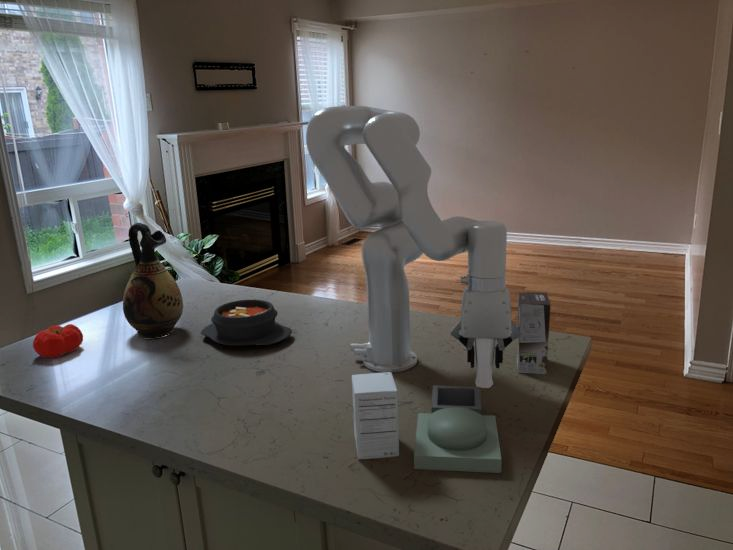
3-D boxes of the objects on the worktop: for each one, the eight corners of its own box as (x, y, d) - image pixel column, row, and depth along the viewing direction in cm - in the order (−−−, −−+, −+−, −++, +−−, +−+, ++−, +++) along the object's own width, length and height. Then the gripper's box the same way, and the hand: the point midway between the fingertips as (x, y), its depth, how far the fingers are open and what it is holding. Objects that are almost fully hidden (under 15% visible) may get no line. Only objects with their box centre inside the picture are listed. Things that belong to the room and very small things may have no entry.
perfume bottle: (496, 380, 128) (497, 314, 124) (493, 389, 124) (495, 321, 120) (474, 378, 130) (475, 312, 126) (471, 387, 126) (472, 320, 122)
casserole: (306, 332, 160) (304, 302, 158) (266, 358, 144) (263, 326, 142) (230, 320, 170) (227, 292, 168) (185, 344, 154) (181, 313, 152)
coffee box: (547, 375, 130) (551, 304, 126) (517, 373, 131) (519, 303, 127) (544, 357, 139) (547, 291, 134) (515, 356, 140) (518, 290, 136)
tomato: (28, 359, 148) (23, 335, 146) (61, 343, 158) (56, 319, 156) (60, 363, 146) (56, 338, 144) (92, 345, 156) (88, 322, 154)
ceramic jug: (198, 328, 165) (185, 221, 157) (152, 347, 153) (136, 232, 145) (157, 318, 174) (144, 216, 166) (111, 335, 162) (93, 227, 154)
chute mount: (414, 468, 98) (413, 441, 97) (420, 403, 120) (420, 380, 118) (501, 473, 96) (501, 445, 95) (491, 405, 118) (492, 382, 117)
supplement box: (353, 437, 108) (350, 373, 105) (394, 434, 109) (392, 370, 105) (356, 460, 101) (353, 393, 98) (400, 457, 102) (398, 389, 98)
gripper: (444, 287, 118) (444, 372, 123) (531, 288, 116) (528, 374, 121) (444, 277, 126) (444, 357, 131) (526, 277, 123) (523, 359, 128)
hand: (484, 364), depth 126 cm, fingers closed on perfume bottle, 4 cm apart
